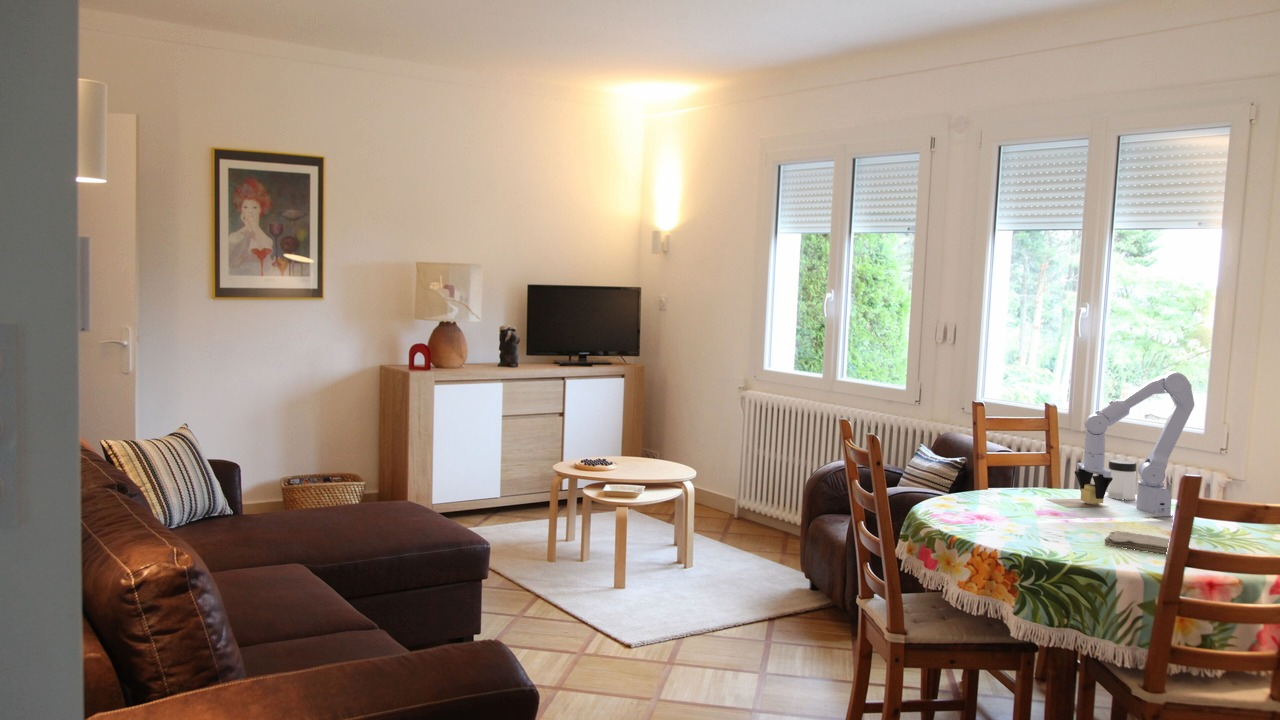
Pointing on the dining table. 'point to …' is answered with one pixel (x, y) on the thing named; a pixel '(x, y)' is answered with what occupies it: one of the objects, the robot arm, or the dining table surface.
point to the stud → (1092, 504)
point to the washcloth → (1137, 542)
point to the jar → (1122, 479)
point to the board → (1074, 503)
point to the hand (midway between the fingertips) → (1092, 496)
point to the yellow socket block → (1089, 494)
